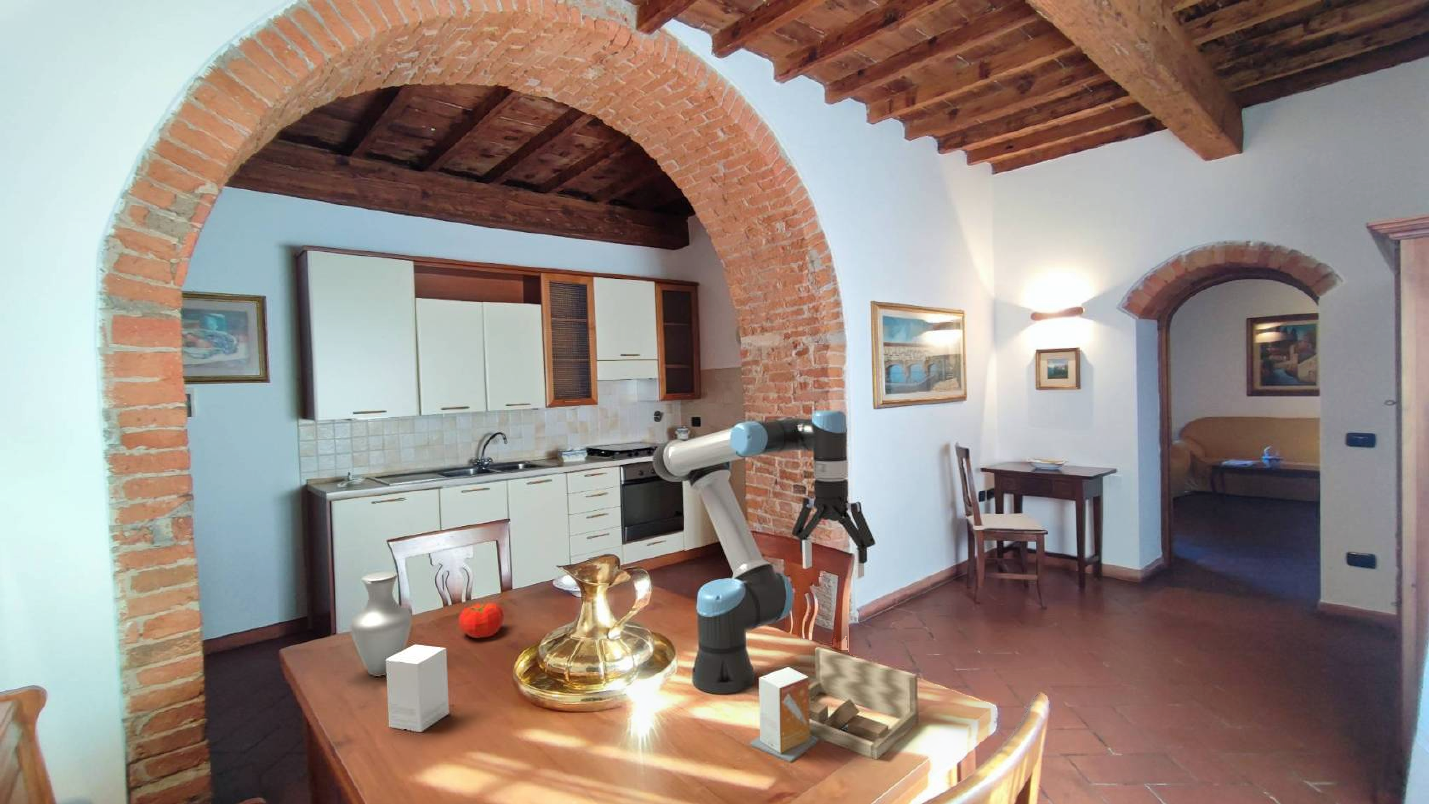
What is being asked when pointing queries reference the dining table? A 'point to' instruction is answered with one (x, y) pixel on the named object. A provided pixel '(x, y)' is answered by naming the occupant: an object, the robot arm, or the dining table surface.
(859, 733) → the offcut
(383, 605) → the vase
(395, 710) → the supplement box
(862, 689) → the tray
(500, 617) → the tomato
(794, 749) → the mat
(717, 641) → the robot arm
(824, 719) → the offcut
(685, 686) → the dining table surface
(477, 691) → the dining table surface
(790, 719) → the small box
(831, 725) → the offcut
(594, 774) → the dining table surface
